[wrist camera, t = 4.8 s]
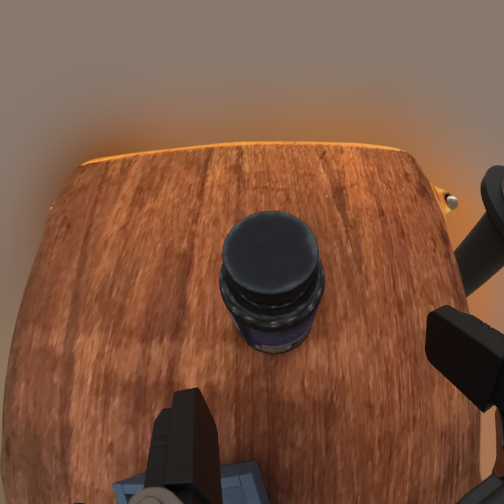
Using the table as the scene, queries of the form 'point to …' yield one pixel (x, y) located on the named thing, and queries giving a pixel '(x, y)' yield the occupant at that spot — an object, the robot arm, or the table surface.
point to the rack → (232, 481)
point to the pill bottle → (272, 280)
